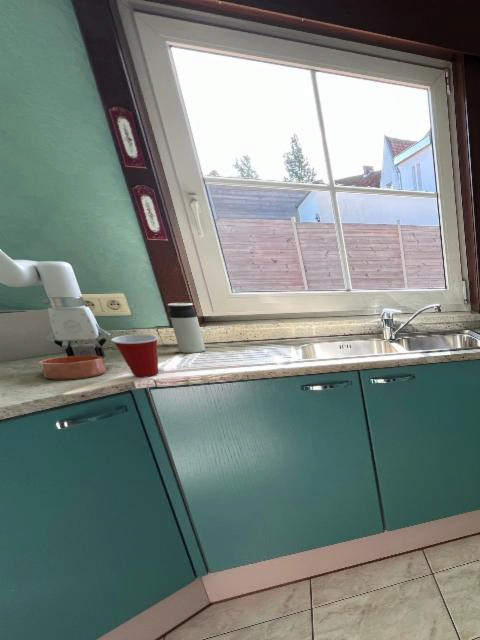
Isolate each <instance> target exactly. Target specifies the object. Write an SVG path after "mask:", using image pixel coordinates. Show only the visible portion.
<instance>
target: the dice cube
mask: <svg viewBox="0 0 480 640" xmlns="http://www.w3.org/2000/svg"><path fill="white" fill-rule="evenodd" d="M71 347H72V350H73V353H74V355H75V356H82V355H94V356H97V354H96V352H95V349H94V348H95V345H94V344H93V343H87V344H86V343H85V344H73V345H72V344H71Z"/></svg>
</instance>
